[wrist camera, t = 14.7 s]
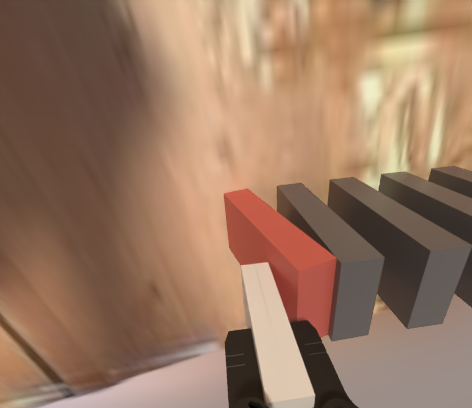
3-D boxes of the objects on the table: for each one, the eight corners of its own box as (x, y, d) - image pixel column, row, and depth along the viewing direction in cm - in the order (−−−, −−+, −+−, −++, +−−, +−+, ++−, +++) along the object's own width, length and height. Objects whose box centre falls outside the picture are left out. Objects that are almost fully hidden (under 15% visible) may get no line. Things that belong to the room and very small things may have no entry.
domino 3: (372, 226, 22) (484, 317, 13) (381, 174, 20) (521, 239, 11) (393, 224, 23) (517, 312, 13) (404, 171, 20) (560, 233, 11)
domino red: (229, 247, 21) (295, 349, 13) (223, 193, 19) (298, 271, 10) (250, 241, 22) (328, 334, 13) (247, 188, 20) (336, 257, 11)
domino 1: (277, 238, 22) (331, 341, 13) (277, 185, 20) (341, 263, 11) (299, 235, 22) (368, 334, 13) (301, 182, 20) (384, 257, 11)
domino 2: (325, 232, 22) (407, 329, 13) (329, 179, 20) (430, 251, 11) (346, 229, 22) (442, 323, 13) (353, 177, 20) (472, 245, 11)
